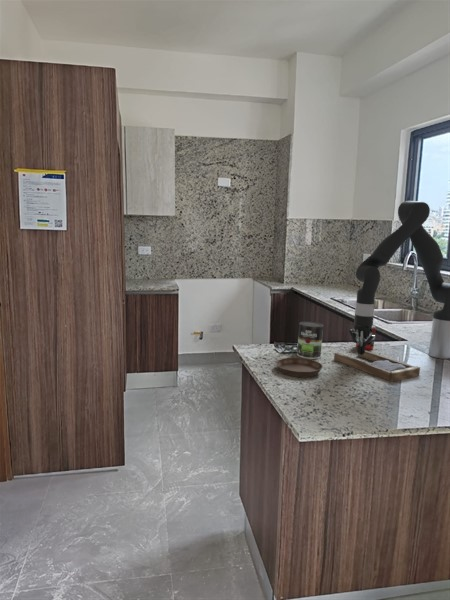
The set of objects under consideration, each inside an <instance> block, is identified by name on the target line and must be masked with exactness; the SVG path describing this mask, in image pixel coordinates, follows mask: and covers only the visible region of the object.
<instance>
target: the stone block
mask: <svg viewBox="0 0 450 600" xmlns="http://www.w3.org/2000/svg"><path fill="white" fill-rule="evenodd" d="M370 364H371V365H373V366H376V367H379V368H382V369H385V370H387V371H390V372H391V371H396V370H401V369H406V367H405V366H403V365H402V364H398V363H397V364H395V363H391V362H389V361H388V360H385V361H380V360H379V361H375V362H374V361H372V362H371V363H370Z"/></svg>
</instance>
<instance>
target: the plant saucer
mask: <svg viewBox="0 0 450 600" xmlns="http://www.w3.org/2000/svg"><path fill="white" fill-rule="evenodd" d="M275 365H276V366H277V368H278V370H279V371H280V372H281V373H282V374H284V375H288V376H291V377H299V378H310V377H313V376H316V375H318V373H319V372H320V371H321V370H322V369H323V367H324V366H323V365H322V363H321V362H319V361H316V360H315V359H305V358H301V357H286V358H281V359H279V360H277V361H276V362H275Z"/></svg>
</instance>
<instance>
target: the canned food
mask: <svg viewBox="0 0 450 600" xmlns="http://www.w3.org/2000/svg"><path fill="white" fill-rule="evenodd" d="M372 333H373V335H376V325H375V324H373V325H372ZM374 345H375V340H374V341H373V342H372V343H371V344H370V345H368V346H365V350H366V351H372V350H374V348H375V347H374ZM355 347H356V348H358V345H357V343H355Z"/></svg>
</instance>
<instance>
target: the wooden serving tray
mask: <svg viewBox="0 0 450 600" xmlns="http://www.w3.org/2000/svg"><path fill="white" fill-rule="evenodd" d="M333 357H334V358H333V360H334V361H336V362H339V363H341V364H344V365H347V366H350V367H352V368H355V369H358V370H360V371H363V372H366V373H368V374H370V375H374V376H375V377H379V378H381V379H384V380H387V381H389V382H391V383H393V382H397V381H402V380H405V379H406V380H407V379H411V378H414V377H419V376H420V371H421V367H420V366H418V365H417V366H414V365H411V364H408V363H406V362H402V361H399V360H396V359H393V358H389V357H387V356H384V355H381V354H377V353H374V352H372V351H370V350H365V353H364V354H363V355H360V354H358V353H357V357H360V358H362V359H364V360H365V359H366V360H369V361H371V362H375V361H379V360H380V361H385V360H388V361H389V362H391V363H395V364H397V363H398V364H402V365H403V366H405V367H406V369H401V370H396V371H391V372H390V371H387V370H385V369H382V368H379V367H376V366H373V365H371V364H372V363H369V362H368V363H367V362H365V361H362V360H359V359H357V358H353V357H351V356H349V355H345V354H342V353H339V352H334V355H333Z"/></svg>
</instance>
